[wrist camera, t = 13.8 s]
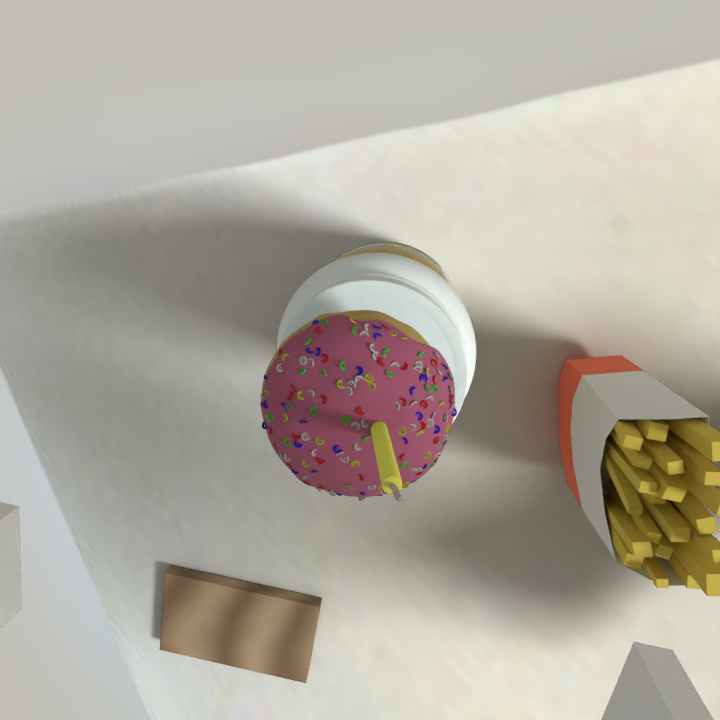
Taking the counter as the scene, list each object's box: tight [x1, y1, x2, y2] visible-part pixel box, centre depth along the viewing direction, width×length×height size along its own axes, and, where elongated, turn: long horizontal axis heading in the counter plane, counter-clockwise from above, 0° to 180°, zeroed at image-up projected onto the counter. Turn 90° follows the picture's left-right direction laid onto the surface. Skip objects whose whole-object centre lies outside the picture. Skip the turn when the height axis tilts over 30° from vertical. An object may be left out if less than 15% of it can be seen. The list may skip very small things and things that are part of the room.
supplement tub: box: [276, 242, 476, 424], centre depth 35 cm, size 12×12×17 cm
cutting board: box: [160, 565, 322, 683], centre depth 53 cm, size 16×10×1 cm, turn 80°
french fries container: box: [558, 355, 720, 596], centre depth 35 cm, size 5×11×18 cm, turn 7°
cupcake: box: [260, 310, 457, 501], centre depth 21 cm, size 9×8×12 cm
